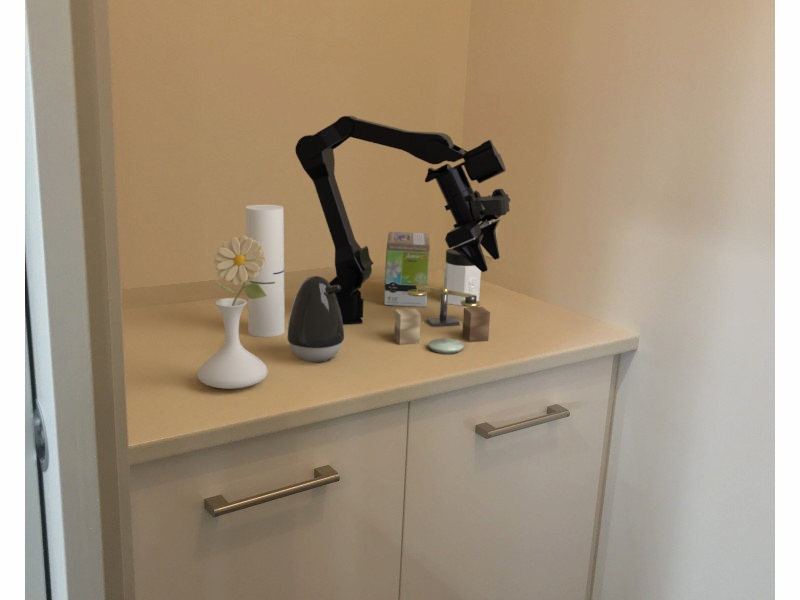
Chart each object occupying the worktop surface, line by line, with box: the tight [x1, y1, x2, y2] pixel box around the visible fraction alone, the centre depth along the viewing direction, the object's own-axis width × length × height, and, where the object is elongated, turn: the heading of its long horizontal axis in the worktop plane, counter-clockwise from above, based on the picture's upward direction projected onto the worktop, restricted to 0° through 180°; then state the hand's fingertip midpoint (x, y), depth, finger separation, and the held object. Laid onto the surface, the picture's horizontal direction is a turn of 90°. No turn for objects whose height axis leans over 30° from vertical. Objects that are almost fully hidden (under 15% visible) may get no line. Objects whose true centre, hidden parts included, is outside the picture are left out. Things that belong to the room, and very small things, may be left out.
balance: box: [408, 284, 481, 328], centre depth 163 cm, size 16×4×9 cm, turn 106°
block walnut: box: [461, 306, 491, 343], centre depth 154 cm, size 4×4×6 cm
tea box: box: [383, 231, 431, 308], centre depth 181 cm, size 15×10×15 cm, turn 179°
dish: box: [428, 338, 464, 355], centre depth 148 cm, size 7×7×1 cm
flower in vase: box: [197, 234, 269, 390], centre depth 125 cm, size 13×11×25 cm
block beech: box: [393, 308, 422, 346], centre depth 151 cm, size 4×4×6 cm
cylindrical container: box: [245, 204, 286, 338], centre depth 152 cm, size 7×7×25 cm
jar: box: [443, 248, 482, 307], centre depth 180 cm, size 9×8×12 cm
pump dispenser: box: [286, 275, 345, 363], centre depth 139 cm, size 10×10×15 cm
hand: (491, 264), depth 154 cm, fingers open, 9 cm apart
